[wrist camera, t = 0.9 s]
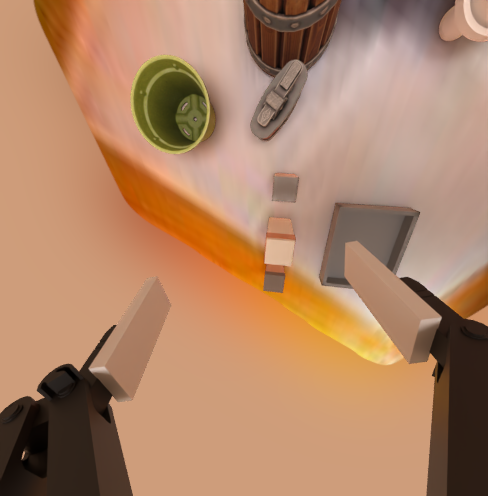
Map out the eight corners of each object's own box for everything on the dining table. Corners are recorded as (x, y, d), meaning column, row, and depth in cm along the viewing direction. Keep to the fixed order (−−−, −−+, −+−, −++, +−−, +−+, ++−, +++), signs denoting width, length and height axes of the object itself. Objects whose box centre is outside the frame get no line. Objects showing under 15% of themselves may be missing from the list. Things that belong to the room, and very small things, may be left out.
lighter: (269, 146, 32) (265, 144, 23) (250, 131, 31) (240, 123, 22) (306, 92, 28) (319, 64, 19) (286, 74, 28) (291, 38, 19)
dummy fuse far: (283, 259, 39) (285, 276, 34) (281, 273, 40) (282, 292, 35) (266, 257, 39) (264, 274, 34) (265, 272, 41) (263, 290, 35)
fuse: (291, 218, 36) (295, 240, 27) (288, 239, 37) (291, 267, 28) (268, 216, 36) (265, 238, 27) (266, 237, 38) (263, 264, 29)
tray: (410, 207, 32) (420, 212, 30) (381, 284, 38) (388, 292, 36) (335, 202, 34) (340, 206, 31) (319, 277, 40) (321, 285, 37)
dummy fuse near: (295, 173, 33) (299, 177, 27) (292, 194, 34) (295, 202, 29) (274, 172, 33) (274, 176, 28) (272, 193, 34) (271, 200, 29)
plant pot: (154, 120, 33) (115, 111, 25) (190, 62, 29) (158, 29, 21) (200, 166, 34) (177, 171, 27) (239, 117, 31) (227, 105, 23)
